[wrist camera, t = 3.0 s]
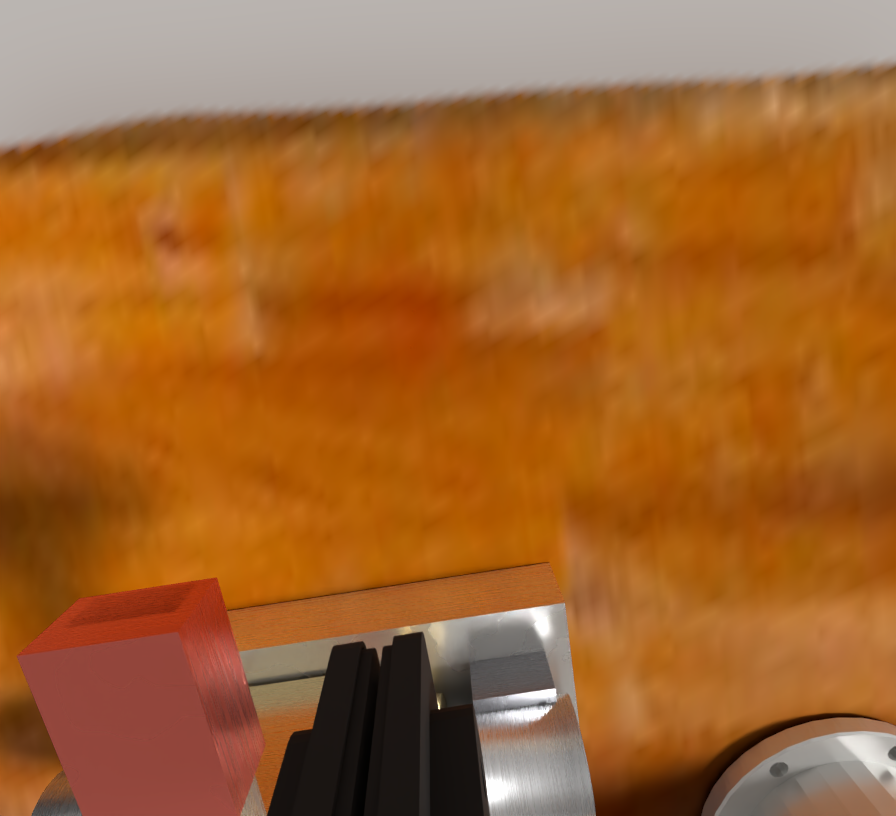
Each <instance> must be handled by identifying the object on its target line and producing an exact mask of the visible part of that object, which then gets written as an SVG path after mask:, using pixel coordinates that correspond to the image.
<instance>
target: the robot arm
mask: <svg viewBox="0 0 896 816" xmlns="http://www.w3.org/2000/svg"><path fill="white" fill-rule="evenodd" d="M267 816H490V812H489V803H488V794H487V786H486V778H485V770H484V763H483V756H482V750H481V743H480V737H479V731H478V726H477V720H476V714H475V709H474V705H473V703H472V704H465V705H459V706H453V707H447V708H440V709H439V707H438V702H437V697H436V692H435V687H434V682H433V677H432V671H431V666H430V661H429V656H428V651H427V646H426V641H425V637H424V633H423V632H416V633H410V634H403V635H397V636H394V637H393V642H392V645H387V646H383V649H382V657H381V666H380V663H379V658H378V654H377V650H376V648H368V649H367V648H366V645H365V643H364V642H363V641H359V642H353V643H347V644H341V645H334V646H333V647H332V650H331V653H330V658H329V662H328V666H327V670H326V674H325V678H324V682H323V686H322V691H321V695H320V699H319V703H318V707H317V711H316V715H315V719H314V724H313V728H312V729H308V730H302V731H295V732H293V734H292V735H291V736H290V739H289V741H288V744H287V747H286V750H285V754H284V757H283V761H282V764H281V768H280V771H279V775H278V778H277V782H276V785H275V789H274V792H273V796H272V799H271V803H270V806H269V810H268V813H267ZM701 816H896V726H894V725H892V724H889V723H887V722H882V721H877V720H871V719H866V718H830V719H823V720H816V721H811V722H807V723H804V724H801V725H797V726H794V727H791V728H787V729H785V730H783V731H781V732H779V733H777V734H774V735H772V736H770V737H768V738H766V739H764V740H763V741H761V742H760V743H758V744H757V745H755V746H754V747H752V748H751V749H749V750H748V751H746V752H745V753H743V754H742V755H741V756H740V757H739V758H738V759H737V760H736V761H735V762H734V763H733V764H732V765H730V766H729V767H728V768H727V769H726V771H725V772H724V773H723V775H722V776H721V777H720V779H719V780H718V781H717V783H716V784H715V785H714V787H713V788H712V790H711V792H710V794H709V796H708V798H707V801H706V803H705V805H704V807H703V811H702V815H701Z"/></svg>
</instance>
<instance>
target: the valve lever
mask: <svg viewBox="0 0 896 816" xmlns="http://www.w3.org/2000/svg"><path fill="white" fill-rule="evenodd" d="M17 658H18V660H19V663H20V665H21V668H22V670H23V673H24V675H25V677H26V680H27V682H28V685H29V687H30V690H31V692H32V694H33V697H34V699H35V702H36V704H37V707H38V709H39V711H40V714H41V716H42V719H43V721H44V724H45V726H46V728H47V731H48V733H49V736H50V738H51V741H52V743H53V745H54V748H55V750H56V753H57V755H58V757H59V760H60V762H61V765H62V767H63V770H64V772H65V774H66V777H67V779H68V782H69V784H70V787H71V789H72V791H73V794H74V796H75V799H76V801H77V804H78V806H79V808H80V811H81V813H82V816H267V813H266V809H265V806H264V803H263V800H262V796H261V793H260V790H259V787H258V783H257V780H256V777H255V773H256V770H257V768H258V765H259V762H260V759H261V756H262V754H263V751H264V748H265V745H266V743H265V740H264V736H263V733H262V730H261V726H260V723H259V719H258V716H257V713H256V709H255V706H254V702H253V699H252V696H251V692H250V689H249V685H248V682H247V679H246V675H245V672H244V668H243V665H242V662H241V658H240V655H239V651H238V648H237V645H236V641H235V638H234V634H233V631H232V628H231V624H230V621H229V617H228V614H227V611H226V607H225V604H224V600H223V597H222V593H221V590H220V587H219V583H218V580H217V578H211V579H204V580H198V581H191V582H184V583H178V584H171V585H165V586H158V587H152V588H145V589H138V590H132V591H125V592H119V593H112V594H106V595H99V596H92V597H86V598H79V599H78V600H77V601H76V602H75V603H74V604H73V605H72V606H71V607H69V608H68V609H67V610H66V611H65V612H64V613H63V614H62V615H61V616H60V617H59V618H58V619H56V620H55V621H54V622H53V623H52V624H51V625H50V626H49V627H48V628H47V629H46V630H45V631H43V632H42V633H41V634H40V635H39V636H38V637H37V638H36V639H35V640H34V641H33V642H32V643H30V644H29V645H28V646H27V647H26V648H25V649H24V650H23V651H22V652H21V653H20V654H19V655H17Z"/></svg>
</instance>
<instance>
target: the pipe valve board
mask: <svg viewBox="0 0 896 816" xmlns="http://www.w3.org/2000/svg"><path fill="white" fill-rule="evenodd" d="M227 614H228V617H229V621H230V624H231V628H232V631H233V634H234V638H235V641H236V645H237V648H238V651H239V655H240V658H241V662H242V665H243V668H244V672H245V675H246V679H247V682H248V685H249V689H250V692H251V696H252V699H253V702H254V706H255V709H256V713H257V716H258V719H259V723H260V726H261V730H262V733H263V736H264V740H265V743H266V745H265V748H264V751H263V754H262V756H261V759H260V762H259V765H258V768H257V770H256V773H255V777H256V780H257V783H258V787H259V790H260V793H261V796H262V800H263V803H264V806H265V809H266V813H268V810H269V806H270V803H271V799H272V796H273V792H274V789H275V785H276V782H277V778H278V775H279V771H280V768H281V764H282V761H283V757H284V754H285V750H286V747H287V744H288V741H289V739H290V736H291V735H292V734H293V732H295V731H302V730H308V729H312V728H313V724H314V719H315V715H316V711H317V707H318V703H319V699H320V695H321V691H322V686H323V682H324V678H325V674H326V670H327V666H328V662H329V658H330V653H331V650H332V647H333V646H334V645H341V644H347V643H353V642H359V641H363V642H364V643H365V645H366V648H367V649H368V648H376V650H377V654H378V658H379V663H380V666H381V657H382V649H383V646H387V645H392V642H393V637H394V636H397V635H403V634H410V633H416V632H423V633H424V637H425V641H426V646H427V651H428V656H429V661H430V666H431V671H432V677H433V682H434V687H435V692H436V697H437V702H438V707H439V709H440V708H447V707H453V706H459V705H465V704H472V703H473V705H474V709H475V714H476V720H477V726H478V731H479V737H480V743H481V750H482V756H483V763H484V770H485V778H486V786H487V794H488V803H489V812H490V816H596V813H595V804H594V796H593V790H592V784H591V779H590V773H589V768H588V763H587V758H586V754H585V749H584V745H583V741H582V736H581V732H580V728H579V719H578V711H577V702H576V694H575V685H574V677H573V668H572V660H571V651H570V643H569V635H568V626H567V618H566V609H565V602H564V600H563V597H562V594H561V592H560V589H559V587H558V584H557V581H556V579H555V576H554V573H553V571H552V568H551V566H550V563H542V564H535V565H529V566H522V567H515V568H509V569H502V570H496V571H489V572H482V573H476V574H469V575H462V576H456V577H449V578H443V579H436V580H429V581H423V582H416V583H409V584H403V585H396V586H390V587H383V588H376V589H370V590H363V591H356V592H350V593H343V594H337V595H330V596H323V597H317V598H310V599H303V600H297V601H290V602H284V603H277V604H270V605H264V606H257V607H250V608H244V609H237V610H231V611H227ZM32 816H82V813H81V811H80V808H79V806H78V804H77V801H76V799H75V796H74V794H73V791H72V789H71V787H70V784H69V782H68V779H67V777H66V774H65V772H64V770H63V771H61V772H60V773H59V774H58V775H57V776H56V777H55V778H54V779H53V780H52V781H51V782H50V783H49V785H48V786H47V787H46V789H45V790H44V792H43V793H42V795H41V797H40V799H39V800H38V802H37V804H36V806H35V808H34V811H33V813H32Z"/></svg>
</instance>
